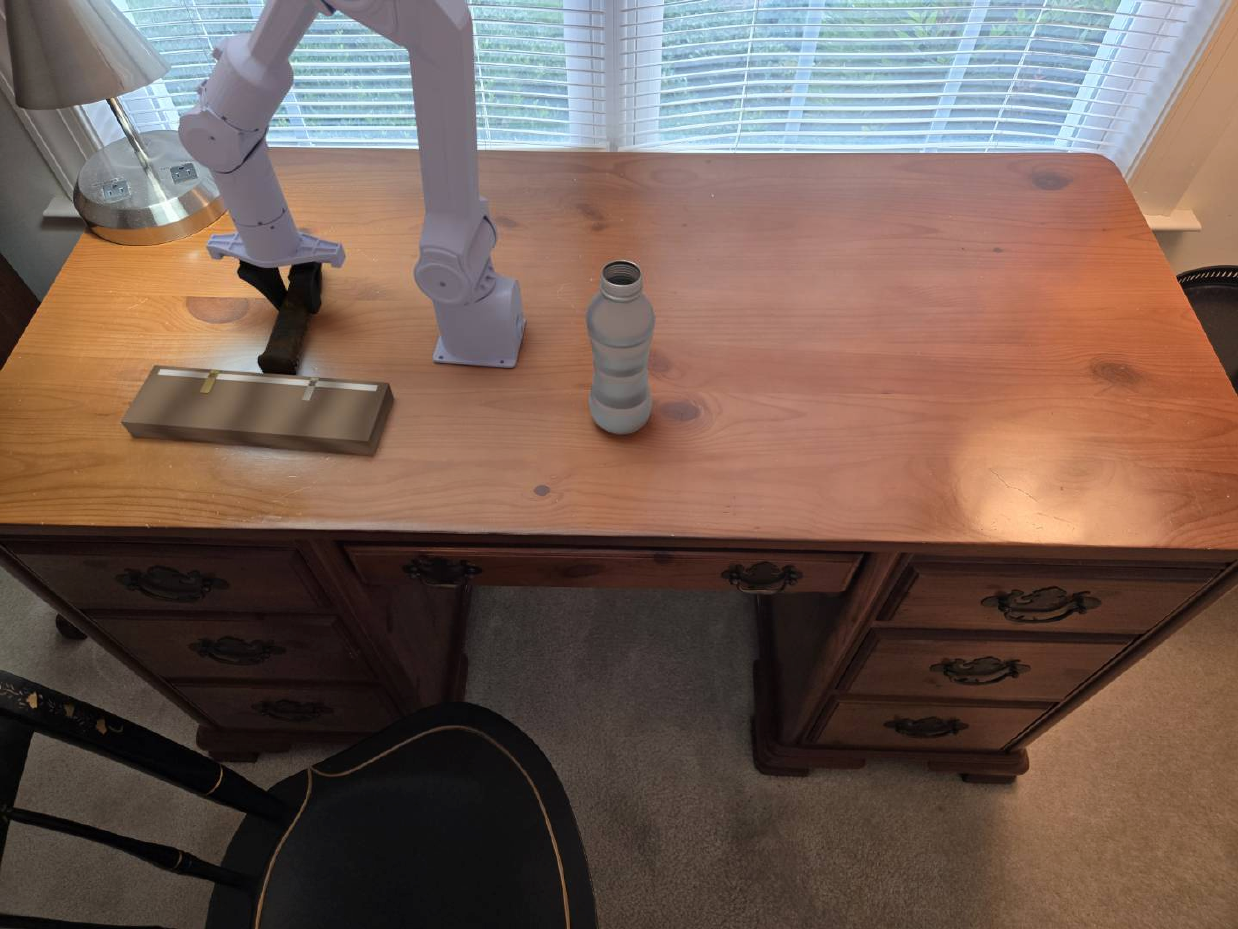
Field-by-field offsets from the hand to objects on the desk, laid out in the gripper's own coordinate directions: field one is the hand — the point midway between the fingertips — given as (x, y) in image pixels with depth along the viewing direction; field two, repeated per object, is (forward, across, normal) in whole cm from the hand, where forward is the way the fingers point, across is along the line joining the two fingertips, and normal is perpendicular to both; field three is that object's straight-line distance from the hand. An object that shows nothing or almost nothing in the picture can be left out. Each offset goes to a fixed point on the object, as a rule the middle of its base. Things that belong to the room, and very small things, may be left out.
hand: (300, 307), depth 93 cm
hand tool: (+2, 0, +1) cm, 2 cm away
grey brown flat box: (+1, -1, +16) cm, 16 cm away
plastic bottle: (+2, -39, +12) cm, 41 cm away
